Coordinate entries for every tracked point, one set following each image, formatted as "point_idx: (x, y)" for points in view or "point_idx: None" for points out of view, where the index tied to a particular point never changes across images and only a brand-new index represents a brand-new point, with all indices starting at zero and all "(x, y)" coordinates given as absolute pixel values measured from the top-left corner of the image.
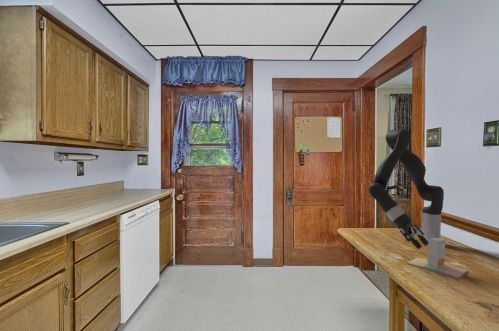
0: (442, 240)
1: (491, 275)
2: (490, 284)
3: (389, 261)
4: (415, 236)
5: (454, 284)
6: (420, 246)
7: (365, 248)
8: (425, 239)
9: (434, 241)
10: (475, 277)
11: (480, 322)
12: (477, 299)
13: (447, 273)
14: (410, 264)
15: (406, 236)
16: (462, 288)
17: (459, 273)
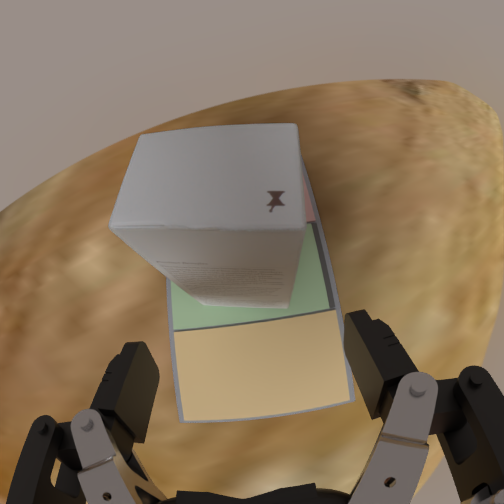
0: (194, 128)
1: None
2: (245, 104)
3: None
4: (157, 489)
5: (375, 149)
6: (365, 318)
7: None
8: (124, 376)
9: (301, 162)
10: None
11: (465, 93)
12: (399, 98)
13: (306, 194)
14: (351, 377)
15: (460, 461)
16: (377, 128)
17: None
